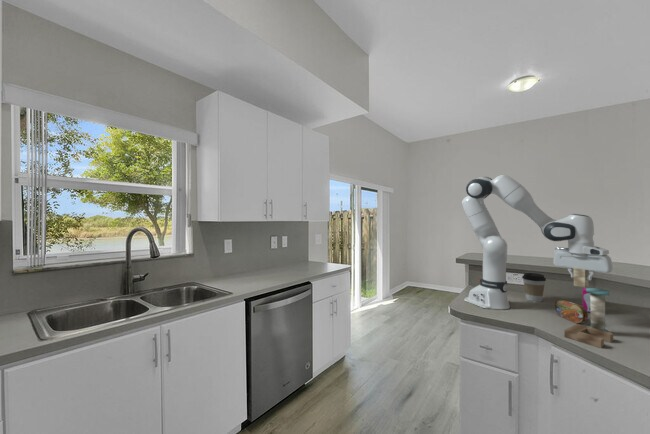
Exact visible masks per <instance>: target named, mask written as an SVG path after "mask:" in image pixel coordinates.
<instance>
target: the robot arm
mask: <svg viewBox="0 0 650 434" xmlns="http://www.w3.org/2000/svg"><path fill="white" fill-rule="evenodd" d="M465 191H466V194H467V196H465V197H463V199H462V201H461V205H462V209H463V212H464V214H465V216H466V218H467V221H468V222H469V224H470V226H471V228H472V230H473V231H474V233H475V236H476V237H477V239H478V241H479V244H480V246H481V247H482V249H483V250H482V254H483V255H482V278H480V279H478V280H477V281H478V283H479V285H476V286H475V287H473V288H471V289H470V290H469V293H468V296H467V297H464V301H465V302H467V303H470V304H472V305H475V306H478V307H480V308H484V309H491V310H492V309H493V310H509V309H510V308H511V306H510V303H509V300H508V293H507V291H508V281H507V262H508V261H507V260H508V243H507V241H506V240H505V239H504V238H503V237H502V236H501V234H500V232H499V230H498V228H497V225H496V224H495V222H494V219H493V217H492V215H491V213H490V212H489V210H488V208H487V207H486V204H485V202H484V201H485V199H486V198H487V197H489V196H490V195H491V194H493V195H496V196H497V197H498V198H500V199H501V200H502V201H503V202H504V203H505V204H506V205H508V207H509V206H510V207H511V208H512V209H514V210H516V211H518V212H521V213H523V214H525V215H526V216H527V217H528V218H529V219H531V220H532V221H533V223H535V224H536V225H537V226H539V228H540V230H541V233H542V235H543V236H544V237H545V238H546V239H548V240H550V241H552V242H562V241H567V247H556V248H554V249H553V262H552V263H553V265H554V267H558V268H559V267H560V268H567V271H568V273H569V274H570V278H571V279H574V268H576V269H584V270H589V276H586V280H589V281H592V277H593V276H594V275H595V274H596V272H597V273H604V274H605V273H606V274H607V273H612V271H613V263H612V261H613V260H612V257H610V256H609V254H610V250H609V249H606V248H603V247H599V246H597V245H595V242H594V235H595V227H594V220H593V219H592V217H591V216H589V215H585V214H577V213H572V214H569V215H567V216H566V217H563V218H560V219H554V218H552V217H550V216H549V215H548V214H547V213H545V212H544V211H543V210H542V209H541V208H540V207H539V206H538V205H537V204H536V202H535V200H534V197H533V196H532V194H531V193H530V192H529V191H528V190H527V189H526V188H525V186H523V185H522V184H521V183H519V182H518V181H517V180H516V179H514V178H513V177H511V176H509V175H506V174H501V175H497V176H496V177H495V178H491V177H488V176H479V177H476V178H475V179H471V180H470V181H469V182H468V183H467V184H466V187H465Z"/></svg>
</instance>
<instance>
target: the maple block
mask: <svg viewBox="0 0 650 434" xmlns="http://www.w3.org/2000/svg"><path fill="white" fill-rule="evenodd" d="M573 273H574V278H573V286H575V287H580V288H589V285H590V284H589V281H590V280H586V276H589V275H590V273H589V270H584V269H576V268H574V269H573Z"/></svg>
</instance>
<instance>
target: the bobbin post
mask: <svg viewBox="0 0 650 434" xmlns="http://www.w3.org/2000/svg"><path fill="white" fill-rule="evenodd" d="M585 288H586V292H588V293H590V305H591V313H590V326H588V325H587V326H588V327H591V328H595V329H599V330H603V331H607V332H610V330H608V329H606V296H610V291H609V290H608V289H603V288H596V287H585Z"/></svg>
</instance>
